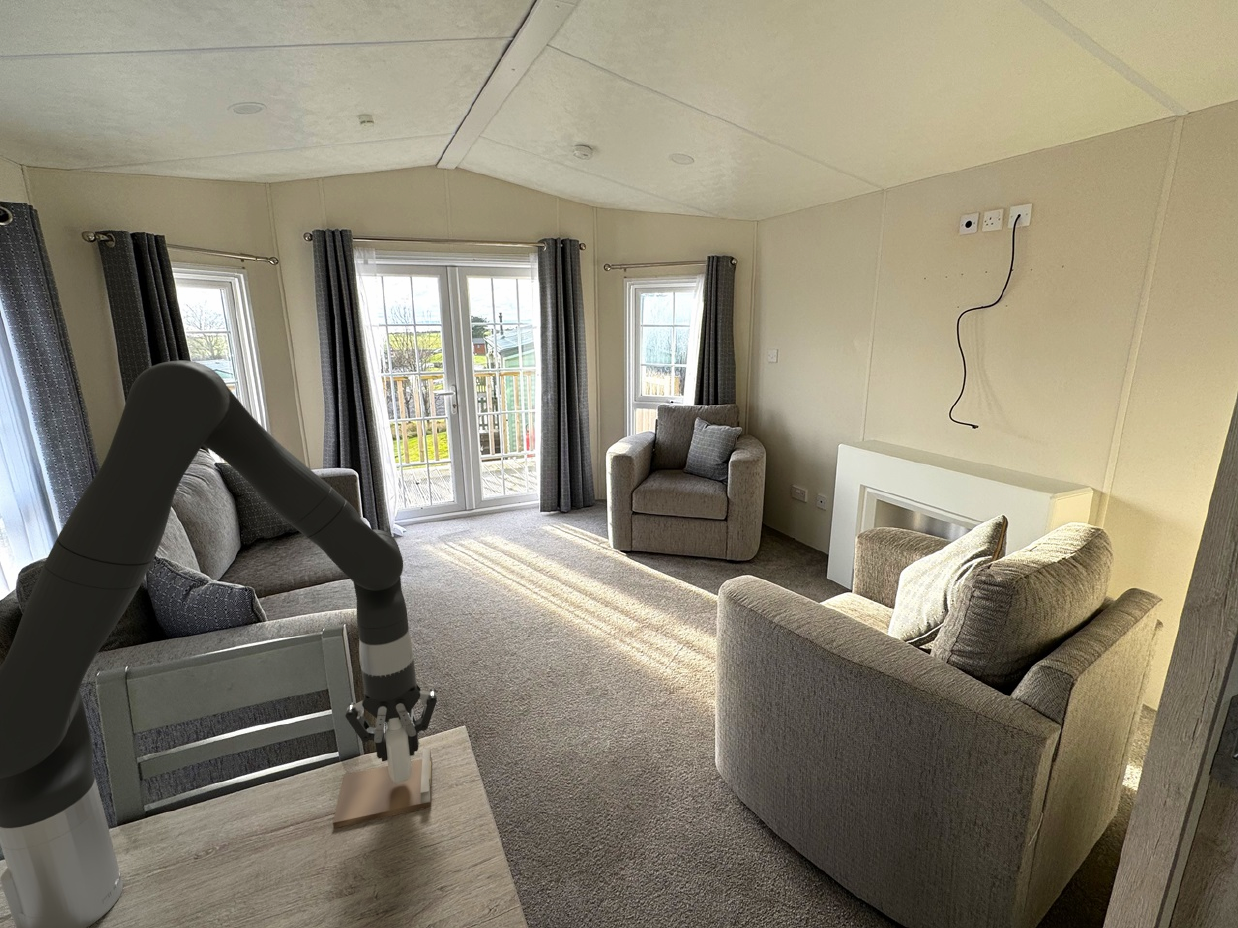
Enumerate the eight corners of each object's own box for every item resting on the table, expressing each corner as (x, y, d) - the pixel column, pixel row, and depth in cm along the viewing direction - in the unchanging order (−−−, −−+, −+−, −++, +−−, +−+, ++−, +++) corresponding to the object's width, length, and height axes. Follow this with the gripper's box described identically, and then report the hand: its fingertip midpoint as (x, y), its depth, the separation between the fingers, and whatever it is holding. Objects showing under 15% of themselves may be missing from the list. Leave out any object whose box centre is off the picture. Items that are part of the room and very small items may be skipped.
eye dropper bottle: (379, 784, 92) (371, 718, 89) (394, 758, 98) (387, 695, 95) (406, 785, 92) (399, 718, 89) (420, 759, 97) (414, 695, 95)
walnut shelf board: (333, 828, 89) (331, 811, 88) (344, 779, 98) (342, 764, 97) (431, 806, 92) (429, 790, 92) (432, 761, 102) (431, 747, 101)
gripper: (436, 639, 95) (444, 730, 100) (341, 653, 92) (354, 748, 96) (435, 665, 88) (444, 762, 93) (332, 681, 85) (347, 781, 89)
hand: (398, 754), depth 94 cm, fingers closed on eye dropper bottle, 3 cm apart
